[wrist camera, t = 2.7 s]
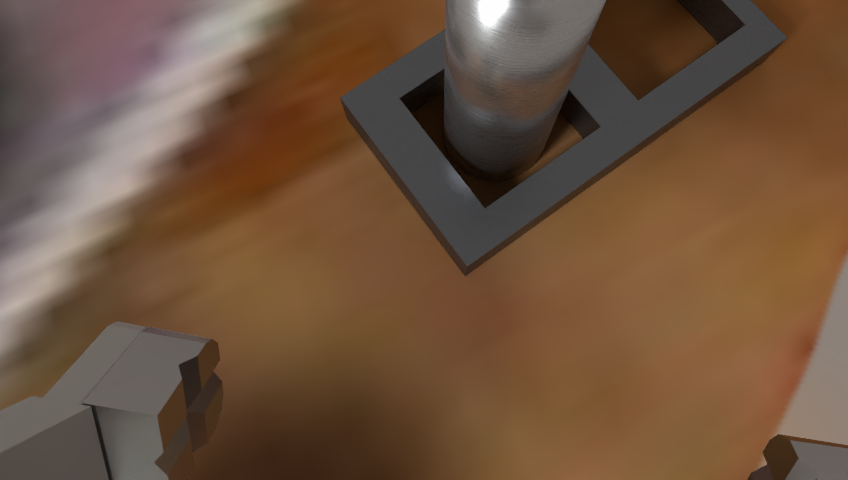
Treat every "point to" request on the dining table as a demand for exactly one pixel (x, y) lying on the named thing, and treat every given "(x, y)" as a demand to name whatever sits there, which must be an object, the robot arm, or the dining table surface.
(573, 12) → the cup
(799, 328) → the dining table surface
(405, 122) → the grey double frame
